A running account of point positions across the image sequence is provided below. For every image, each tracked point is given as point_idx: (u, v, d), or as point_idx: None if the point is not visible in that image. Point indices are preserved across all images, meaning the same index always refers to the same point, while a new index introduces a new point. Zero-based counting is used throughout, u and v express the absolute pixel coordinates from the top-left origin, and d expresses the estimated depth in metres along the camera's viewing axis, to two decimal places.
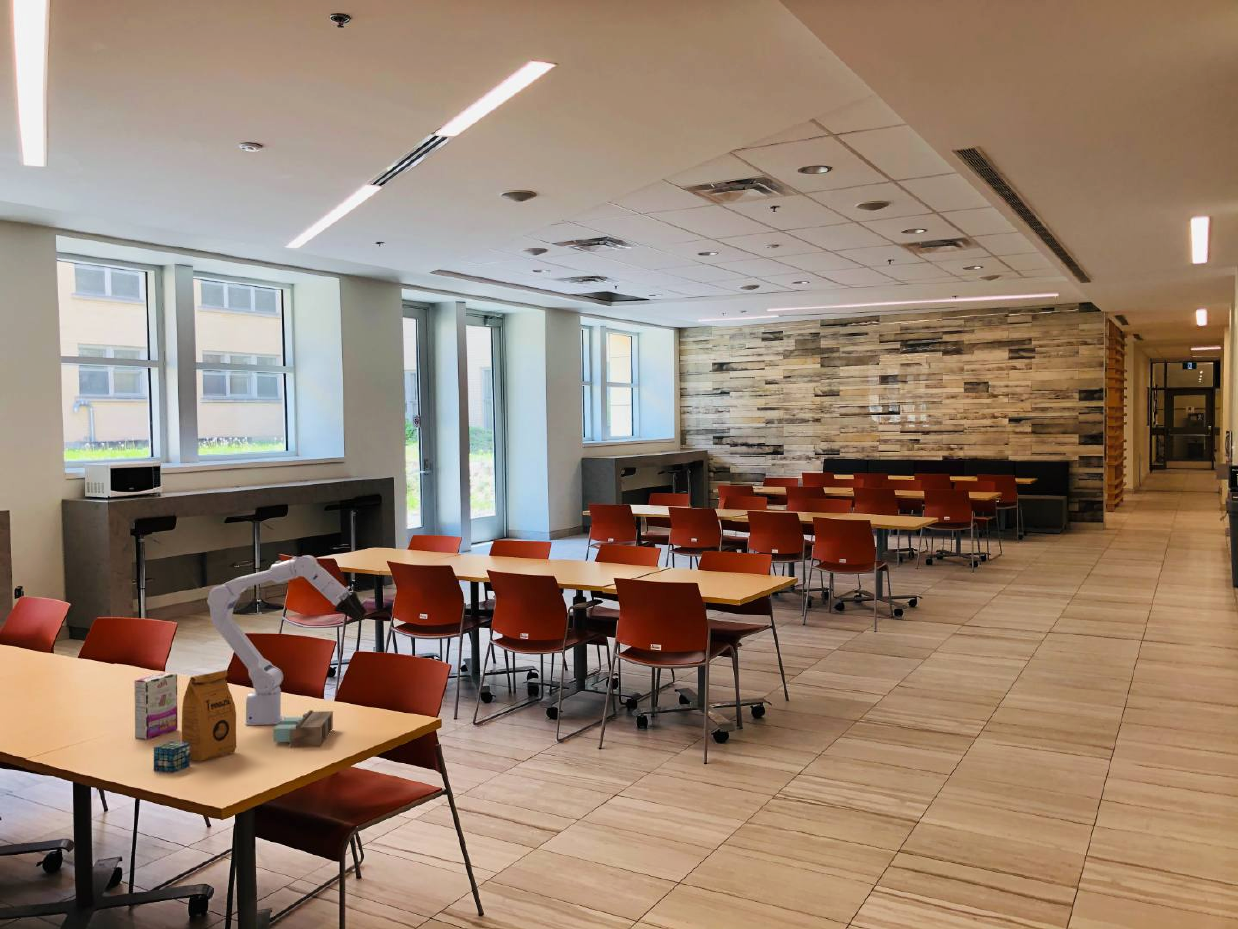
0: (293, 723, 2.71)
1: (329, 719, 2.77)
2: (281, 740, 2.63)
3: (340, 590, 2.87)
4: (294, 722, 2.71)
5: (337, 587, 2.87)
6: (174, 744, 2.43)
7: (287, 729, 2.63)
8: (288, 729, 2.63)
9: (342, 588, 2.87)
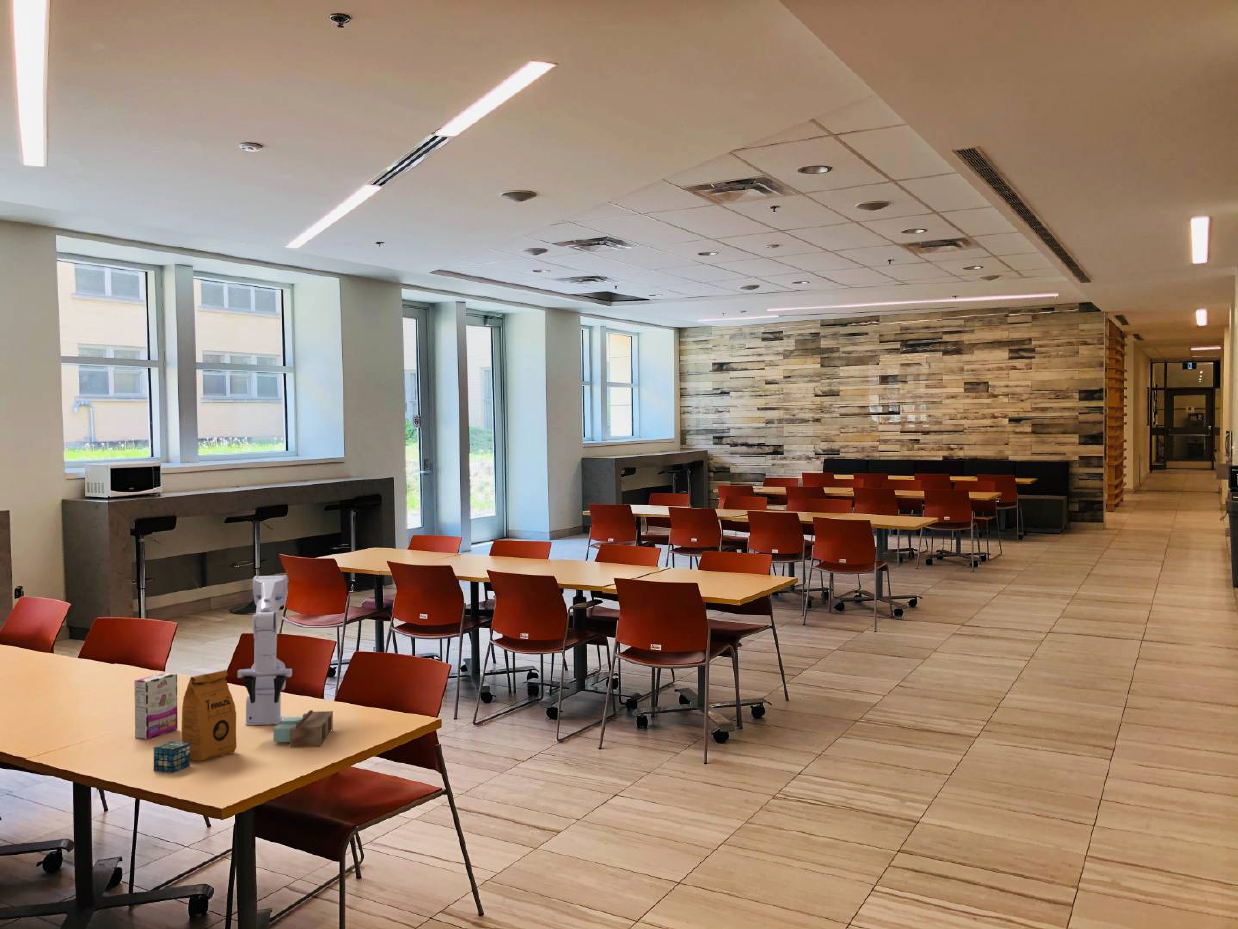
0: (293, 723, 2.71)
1: (329, 719, 2.77)
2: (281, 740, 2.63)
3: (255, 669, 2.71)
4: (294, 722, 2.71)
5: (255, 665, 2.71)
6: (174, 744, 2.43)
7: (287, 729, 2.63)
8: (288, 729, 2.63)
9: (258, 669, 2.70)
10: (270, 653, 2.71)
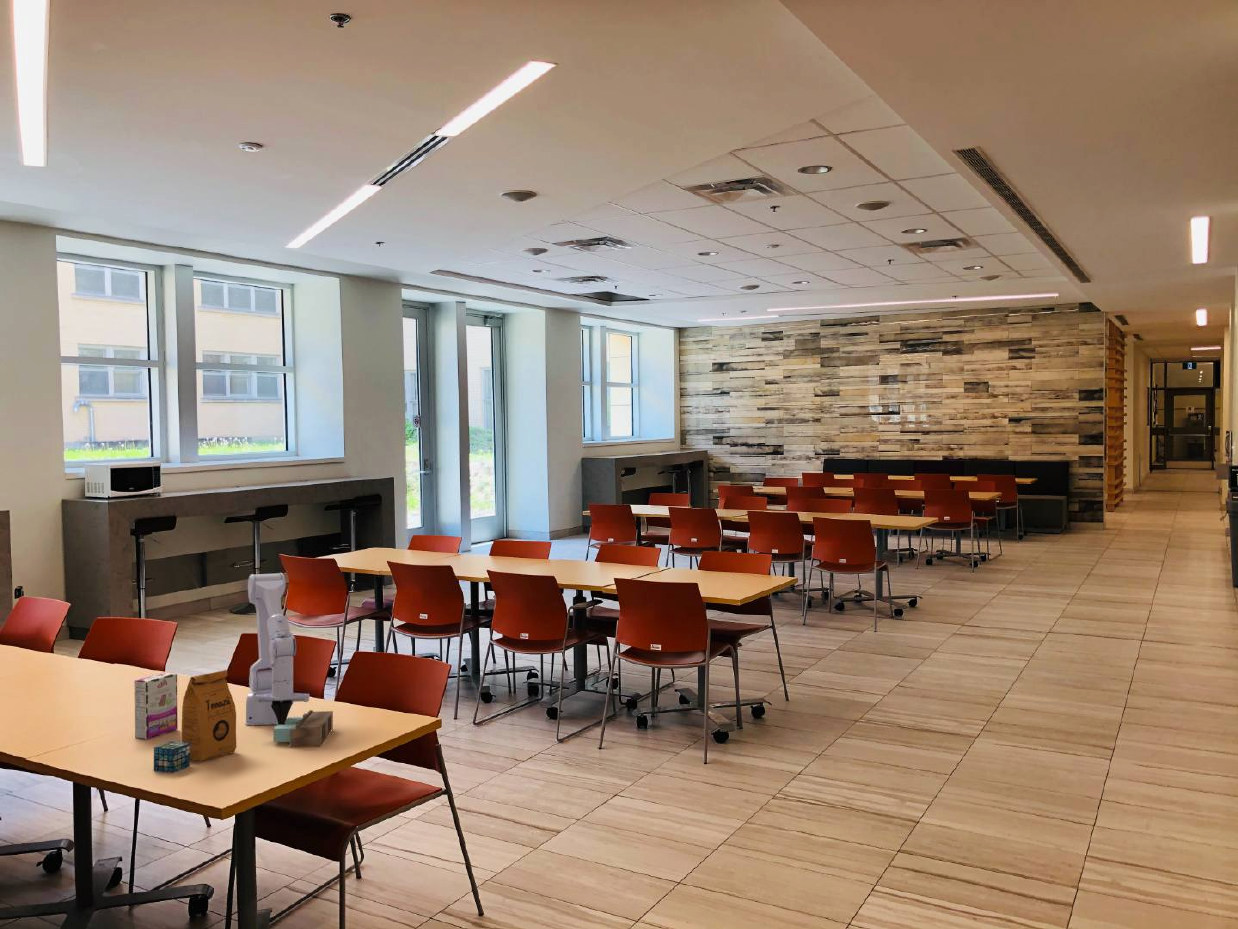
0: None
1: (329, 719, 2.77)
2: (281, 740, 2.63)
3: (273, 694, 2.71)
4: None
5: (273, 690, 2.71)
6: (174, 744, 2.43)
7: (287, 729, 2.63)
8: (288, 729, 2.63)
9: (275, 694, 2.70)
10: (290, 678, 2.72)
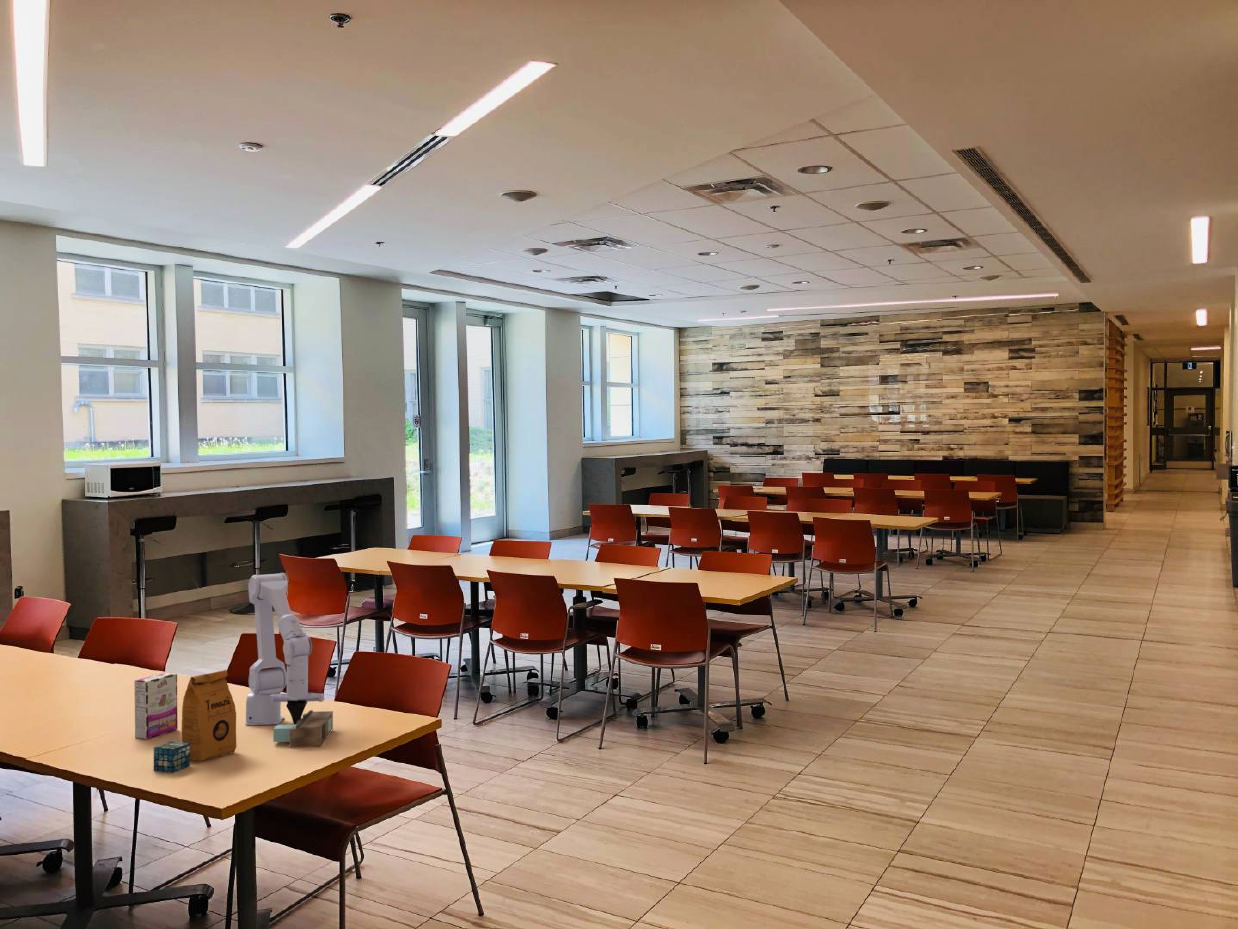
0: None
1: None
2: (281, 740, 2.63)
3: (288, 694, 2.71)
4: None
5: (288, 690, 2.71)
6: (174, 744, 2.43)
7: (287, 729, 2.63)
8: (288, 729, 2.63)
9: (290, 694, 2.71)
10: (306, 677, 2.73)
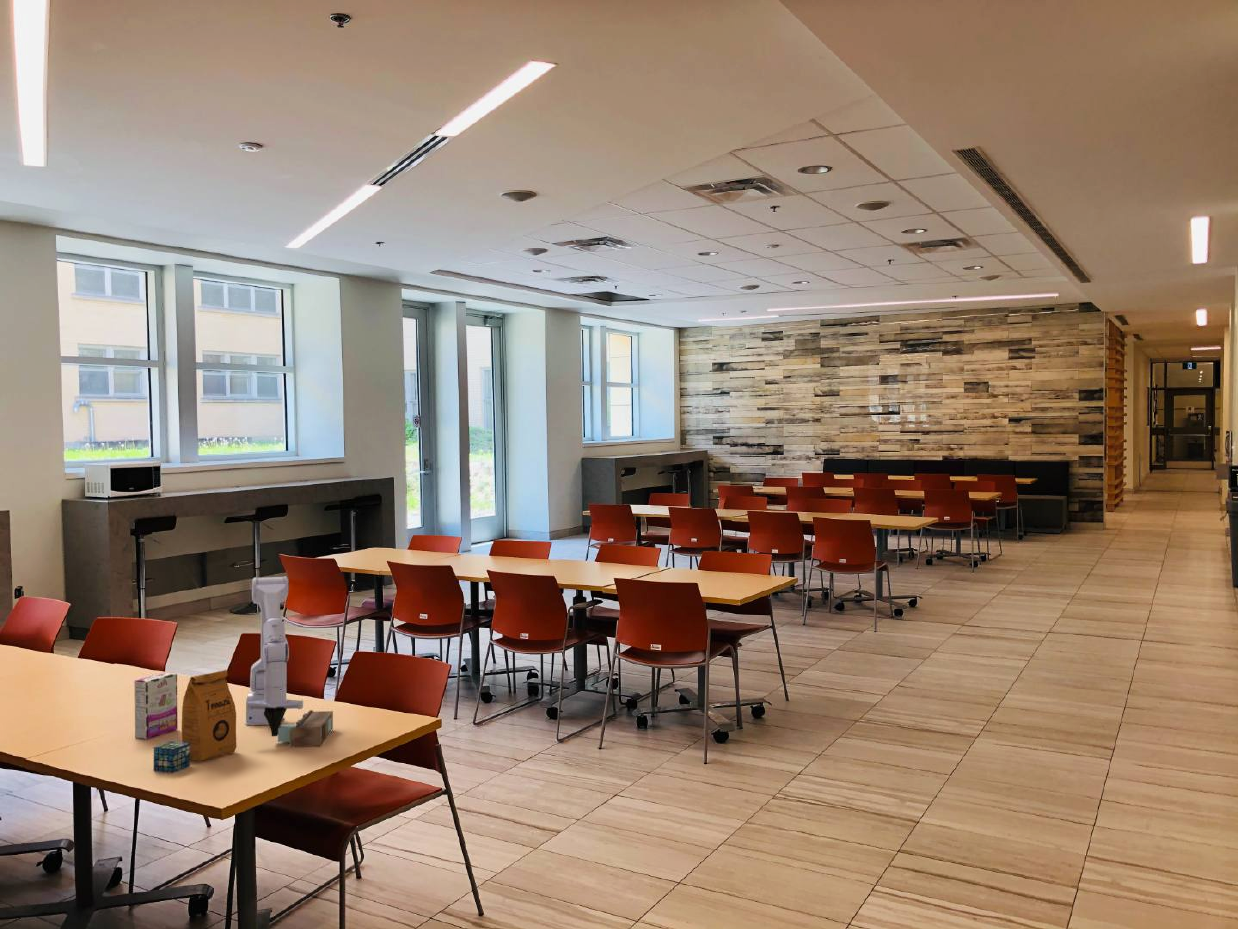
0: None
1: None
2: (286, 740, 2.63)
3: (265, 701, 2.63)
4: None
5: (266, 697, 2.63)
6: (174, 744, 2.43)
7: None
8: None
9: (268, 701, 2.62)
10: (282, 684, 2.64)
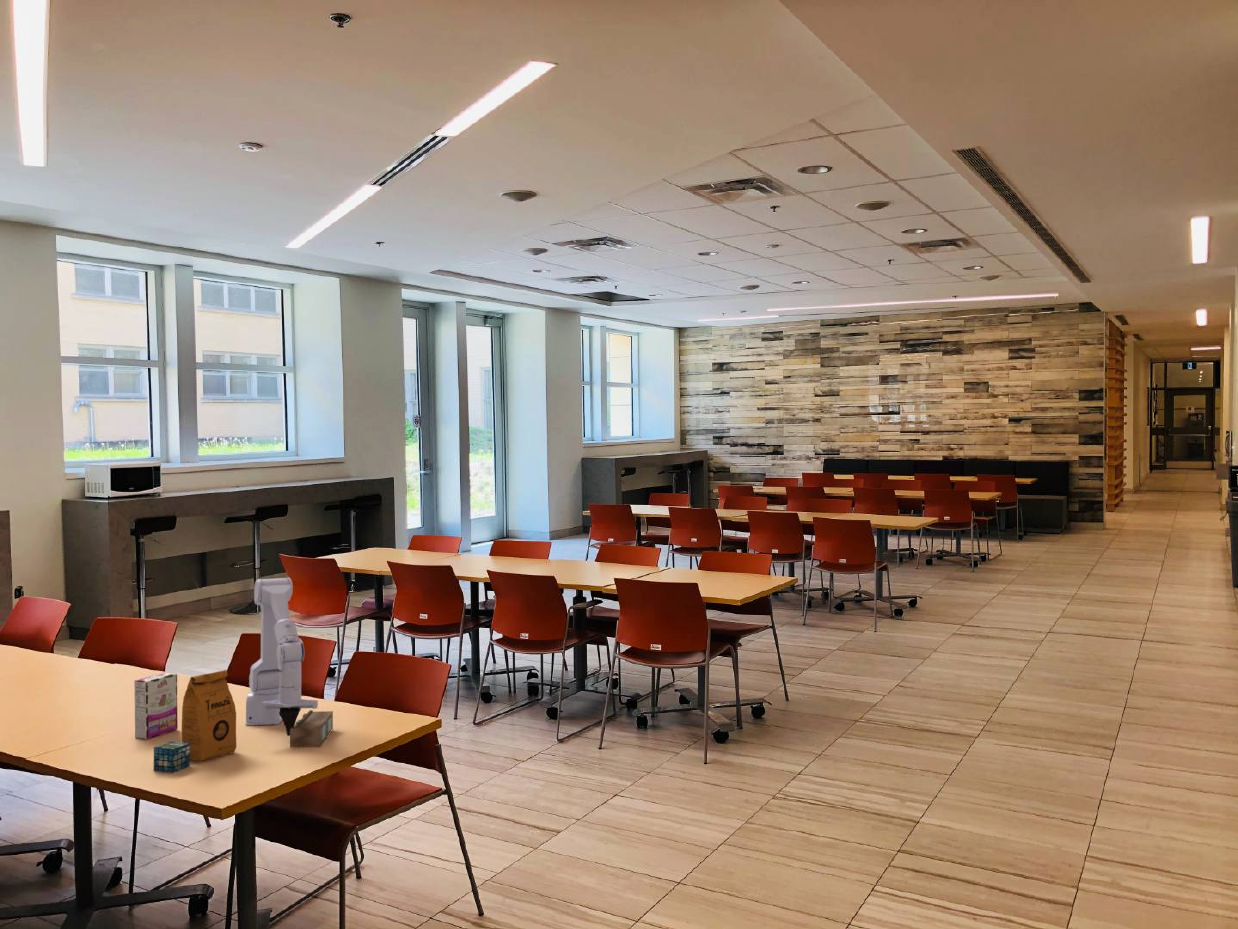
0: None
1: None
2: None
3: (280, 701, 2.63)
4: None
5: (280, 697, 2.63)
6: (174, 744, 2.43)
7: None
8: None
9: (283, 701, 2.63)
10: (298, 684, 2.64)
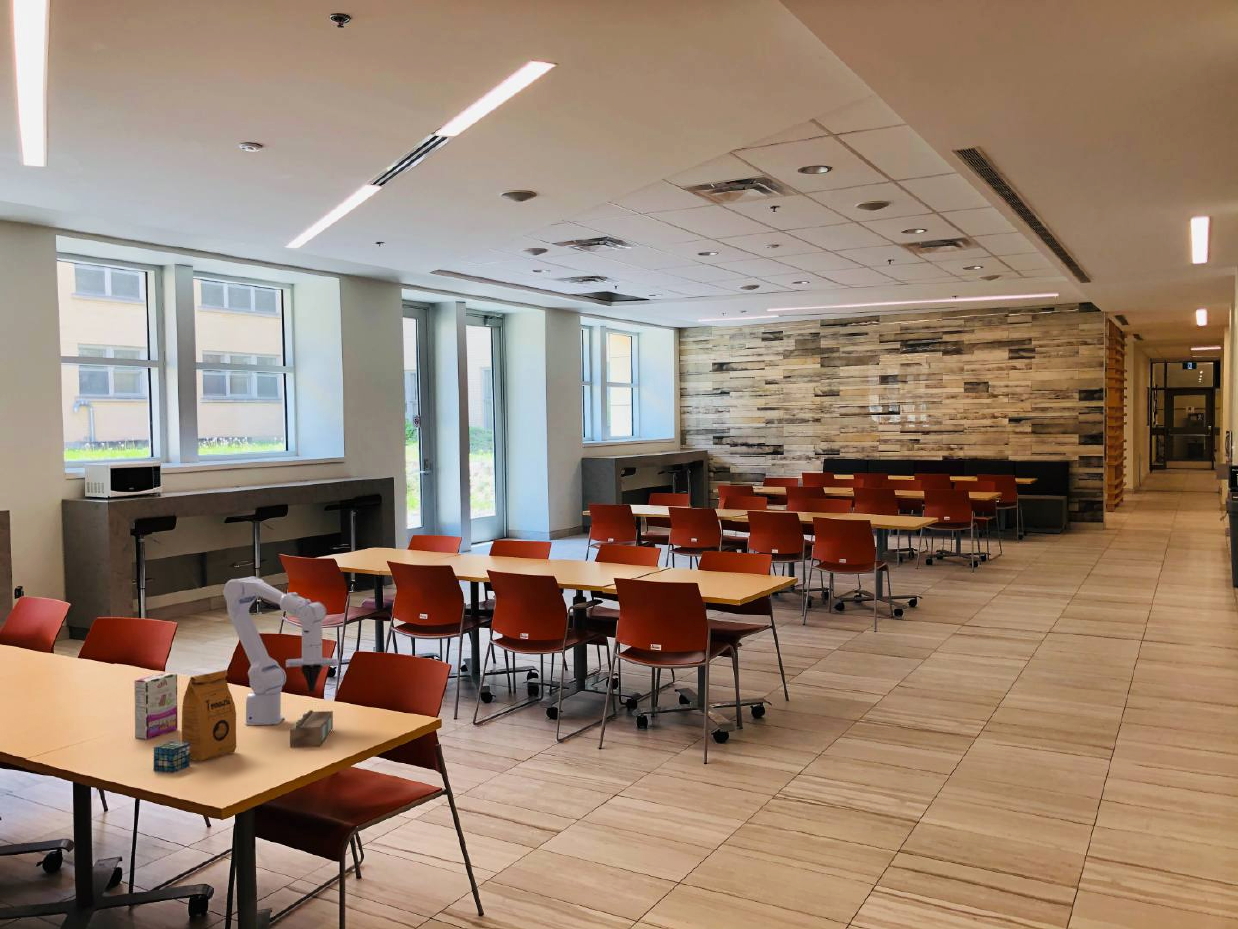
0: None
1: None
2: None
3: (303, 658, 2.81)
4: None
5: (303, 655, 2.80)
6: (174, 744, 2.43)
7: None
8: None
9: (305, 659, 2.80)
10: None
